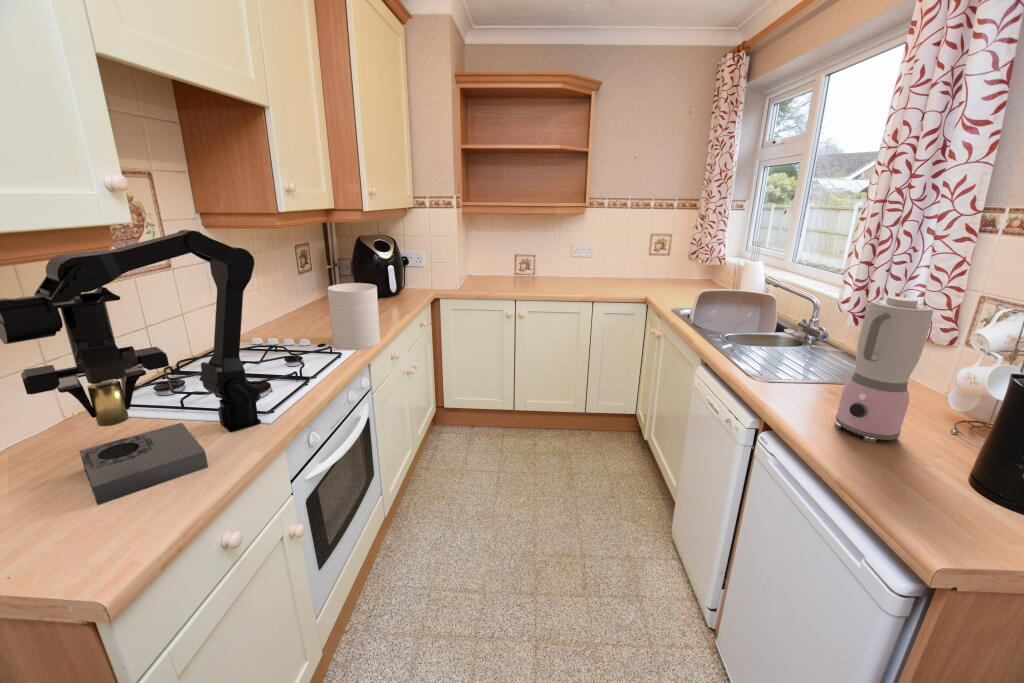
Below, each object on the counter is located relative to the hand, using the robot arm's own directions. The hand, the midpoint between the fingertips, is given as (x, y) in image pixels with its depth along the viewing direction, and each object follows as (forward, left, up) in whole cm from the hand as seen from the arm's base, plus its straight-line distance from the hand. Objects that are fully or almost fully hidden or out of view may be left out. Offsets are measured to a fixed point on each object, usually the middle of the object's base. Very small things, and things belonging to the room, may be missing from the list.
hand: (111, 412), depth 83 cm
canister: (-71, -41, -12) cm, 83 cm away
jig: (-3, +2, -12) cm, 12 cm away
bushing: (0, 0, -2) cm, 2 cm away
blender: (-120, +100, -12) cm, 157 cm away
